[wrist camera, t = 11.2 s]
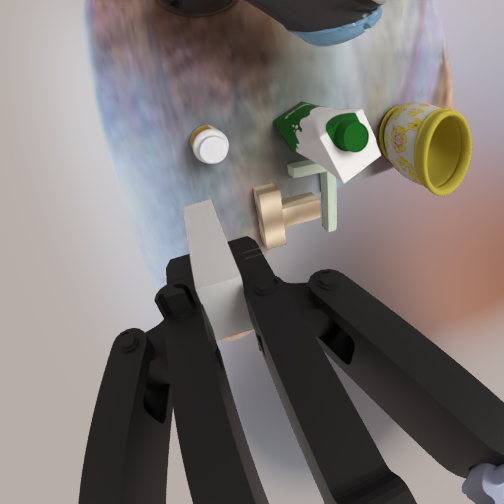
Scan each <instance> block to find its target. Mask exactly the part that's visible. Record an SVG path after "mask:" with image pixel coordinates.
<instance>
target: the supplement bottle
mask: <svg viewBox="0 0 504 504" xmlns="http://www.w3.org/2000/svg"><path fill="white" fill-rule="evenodd" d="M190 143H191V147H192V149H193V152H194V154H195V156H196V157H197V158H198V159H199V160H200V161H202V162H204V163H208V164H215V163H218V162H221V161H222V160H223V159H224V158H225V157H226V155H227V152H228V149H229V143H228V140H227V137H226V136H225V135H224V134H223V133H222V132H221V131H220V130H218V129H217V128H216V127H214V126H211V125H202V126H200V127H198V128H196V129H195V130H194V131H193V133H192V135H191V138H190Z"/></svg>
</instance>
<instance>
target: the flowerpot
mask: <svg viewBox="0 0 504 504" xmlns="http://www.w3.org/2000/svg"><path fill="white" fill-rule="evenodd" d="M379 140H380V146H381V149H382V152H383V154H384V156H385V157H386V158H387V159H388V160H389V161H390V162H391V163H392V164H393V166H394V167H395V168H396V169H397V170H398V172H400V173H401V174H402V175H403V176H405V177H406V178H408V179H409V180H411V181H413V182H415V183H418V184H421V185H423V186H424V187H426V188H428V189H429V191H430V192H432V193H433V194H435V195H438V196H445V195H448V194H449V193H451V192H453V191H454V190H455V189H456V188H457V187H458V186H459V184H460V183H461V181H462V180H463V178H464V176H465V174H466V172H467V169H468V167H469V163H470V159H471V152H472V138H471V132H470V129H469V126H468V123H467V121H466V120H465V118H464V117H463V116H462V115H461V114H460V113H458V112H457V111H455V110H446V109H440V108H438V107H436V106H433V105H430V104H426V103H409V104H406V105H404V106H396V107H394V108H392V109H391V110H390V111H389V112H388V113H387V114H386V115H385V117H384V118H383V120H382V123H381V126H380V130H379Z"/></svg>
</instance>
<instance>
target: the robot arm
mask: <svg viewBox="0 0 504 504" xmlns="http://www.w3.org/2000/svg"><path fill="white" fill-rule="evenodd" d="M157 1H158V2H159V3H160V4H161V5H162V6H163V7H164V8H165V9H167V10H168V11H170V12H172V13H175V14H178V15H181V16H187V17H204V16H210V15H214V14H217V13H220V12H222V11H224V10H226V9H227V8H229V7H230V6H232V5H233V4H234V3H235V2H236V1H237V0H157ZM245 1H247V2H248V3H250V4H252V5H253V6H255V7H257V8H258V9H260V10H261V11H263V12H264V13H266V14H268V15H269V16H271V17H272V18H274V19H275V20H277V21H278V22H279V23H281V24H282V25H284V27H285V28H286V29H287V30H288V31H289V32H292V33H294V34H296V35H298V36H299V37H300V38H302V39H303V40H305V41H306V42H308V43H310V44H313V45H316V46H332V45H336V44H340V43H343V42H346V41H348V40H351V39H353V38H355V37H357V36H359V35H361V34H362V33H364V32H365V29H367V28H371V27H372V26H374V25H375V24H376V23H377V22H378V20H379V19H380V17H381V14H382V9H381V6H380V5H383V4H385V3H386V2H387V1H388V0H245ZM183 213H184V221H185V228H186V235H187V241H188V248H189V254H188V255H184V256H181V257H178V258H174V259H171V260H170V261H169V263H168V265H167V267H166V276H167V277H166V278H167V285H165V286H164V287H163V288H161V289H160V290H159V291H158V293H157V294H156V297H155V303H156V304H157V306H158V308H159V310H160V312H161V314H162V315H163V317H164V320H163V321H162V322H161V323H160V324H159V325H157V326H156V327H154V328H152V329H151V330H149V331H147V332H144V331H142V330H140V329H137V328H131V329H127V330H125V331H124V332H122V333H120V335H118V336H117V337H116V339H115V341H114V343H113V345H112V348H111V351H110V355H109V358H108V361H107V365H106V368H105V371H104V375H103V378H102V382H101V386H100V390H99V393H98V397H97V401H96V405H95V409H94V413H93V418H92V423H91V427H90V431H89V436H88V442H87V447H86V452H85V458H84V464H83V470H82V477H81V485H80V494H79V504H166V484H167V467H168V454H169V441H170V431H171V421H172V411H173V409H174V415H175V420H176V427H177V433H178V438H179V444H180V449H181V454H182V459H183V463H184V468H185V472H186V477H187V481H188V485H189V489H190V493H191V497H192V501H193V504H269V503H268V500H267V497H266V495H265V492H264V489H263V487H262V484H261V481H260V479H259V476H258V473H257V470H256V467H255V464H254V461H253V459H252V456H251V453H250V450H249V447H248V444H247V441H246V438H245V434H244V431H243V428H242V425H241V422H240V419H239V416H238V412H237V409H236V406H235V402H234V399H233V396H232V392H231V389H230V385H229V382H228V378H227V375H226V371H225V368H224V364H223V360H222V356H221V353H220V350H219V348H218V346H217V343H216V340H219V339H223V338H226V337H229V336H233V335H236V334H239V333H242V332H246V331H249V330H252V329H254V330H255V333H256V337H257V341H258V345H259V349H260V351H262V353H263V356H264V359H265V361H266V364H267V366H268V369H269V371H270V374H271V376H272V379H273V382H274V384H275V387H276V389H277V391H278V394H279V397H280V399H281V402H282V404H283V406H284V409H285V411H286V413H287V416H288V419H289V421H290V423H291V426H292V428H293V431H294V433H295V435H296V438H297V440H298V443H299V445H300V447H301V450H302V452H303V454H304V456H305V459H306V461H307V464H308V466H309V468H310V470H311V473H312V475H313V477H314V480H315V482H316V484H317V487H318V489H319V491H320V493H321V495H322V498H323V500H324V504H417V503H416V501H415V499H414V497H413V495H412V494H411V492H410V490H409V488H408V487H407V485H406V483H405V482H404V481H403V480H402V479H401V478H400V477H399V476H398V475H396V474H395V473H393V472H391V470H390V469H389V468H388V466H387V465H386V463H385V462H384V460H383V458H382V456H381V454H380V452H379V450H378V448H377V447H376V445H375V443H374V441H373V439H372V438H371V436H370V434H369V432H368V430H367V428H366V426H365V425H364V423H363V421H362V419H361V417H360V416H359V414H358V412H357V410H356V409H355V407H354V405H353V403H352V401H351V400H350V398H349V396H348V394H347V393H346V390H345V389H344V387H343V385H342V383H341V381H340V380H339V378H338V376H337V374H336V372H335V371H334V369H333V367H332V365H331V364H330V362H329V360H328V358H327V357H326V355H325V353H324V351H325V352H326V354H327V355H329V357H331V359H332V360H334V362H336V364H338V366H339V367H340V368H341V369H342V370H343V371H344V372H345V373H346V374H347V375H348V376H349V377H350V378H351V379H353V381H354V382H355V383H356V384H357V385H358V386H360V387H361V388H362V389H363V391H365V393H367V395H369V396H370V397H371V398H372V399H373V400H374V401H375V402H376V403H377V404H378V405H379V406H380V407H381V408H382V409H383V410H384V411H385V412H386V413H387V414H388V415H389V416H390V417H391V418H392V419H393V420H394V421H395V422H396V423H397V424H398V425H399V426H400V427H401V428H402V429H403V430H404V431H405V432H407V433H408V434H409V435H410V436H411V437H412V438H413V439H414V440H415V441H416V442H417V443H418V444H419V445H420V446H421V447H422V448H423V449H424V450H425V451H426V452H427V453H428V454H430V455H431V456H432V457H433V458H434V459H435V460H436V461H437V462H438V463H439V464H441V465H442V466H443V467H444V468H446V469H447V470H448V471H450V472H452V473H454V474H455V475H457V476H460V477H463V478H466V480H465V481H464V483H463V485H462V492H463V493H464V494H466V495H467V497H468V498H469V499H471V500H472V501H473V502H475V504H504V402H503V401H501V400H500V399H499V398H498V397H497V396H496V395H495V394H493V393H492V392H491V391H490V390H489V389H488V388H487V387H486V386H484V385H483V384H482V383H481V382H480V381H479V380H477V379H476V378H475V377H474V376H473V375H472V374H470V373H469V372H468V371H467V370H466V369H465V368H463V367H462V366H461V365H460V364H459V363H457V362H456V361H455V360H454V359H452V358H451V357H450V356H449V355H448V354H446V353H445V352H444V351H443V350H441V349H440V348H439V347H438V346H437V345H435V344H434V343H433V342H432V341H430V340H429V339H428V338H426V337H425V336H424V335H423V334H421V333H420V332H419V331H418V330H416V329H415V328H414V327H413V326H411V325H410V324H409V323H408V322H406V321H405V320H403V319H402V318H401V317H400V316H398V315H397V314H396V313H395V312H393V311H392V310H390V309H389V308H388V307H387V306H385V305H384V304H383V303H382V302H380V301H379V300H378V299H376V298H375V297H373V296H372V295H371V294H369V293H368V292H367V291H365V290H364V289H363V288H361V287H360V286H359V285H357V284H356V283H355V282H353V281H352V280H351V279H349V278H348V277H347V276H345V275H344V274H343V273H340V272H339V271H336V270H331V269H326V270H320V271H318V272H315V273H314V274H313V275H312V276H311V277H310V279H309V281H308V283H286V282H283V281H282V280H281V279H280V278H279V277H277V276H275V275H274V273H273V271H272V269H271V268H270V266H269V264H268V262H267V260H266V259H265V257H264V255H263V254H262V252H261V250H260V249H259V246H258V245H257V243H256V241H255V240H253V239H252V238H250V237H248V236H246V237H242V238H239V239H236V240H232V241H229V242H227V240H226V238H225V235H224V233H223V230H222V228H221V225H220V222H219V220H218V217H217V215H216V212H215V210H214V207H213V205H212V202H211V199H210V200H206V201H203V202H199V203H196V204H192V205H189V206H186V207H183ZM253 327H254V328H253ZM215 338H216V339H215ZM323 350H324V351H323Z"/></svg>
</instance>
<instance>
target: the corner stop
mask: <svg viewBox="0 0 504 504" xmlns="http://www.w3.org/2000/svg"><path fill="white" fill-rule="evenodd" d="M287 169H288V174H289V175H291V176H292V177H293V178H298V177H303V176H307V175H312V174H317V173H320V181H321V203H322V226H323V227H324V228H325V229H326V230H327V231H328V232H331V231H334V230H336V221H337V220H336V219H337V216H336V215H337V213H336V211H337V210H336V208H337V206H336V177H335V176H334V175H333V174H331V173H330V172H329V171H327V170H326V169H325V168H323V167H322V166H321V165H319V164H317V163H315V162H313V161H312V160H304V161H299V162H294V163H290V164H287Z"/></svg>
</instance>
